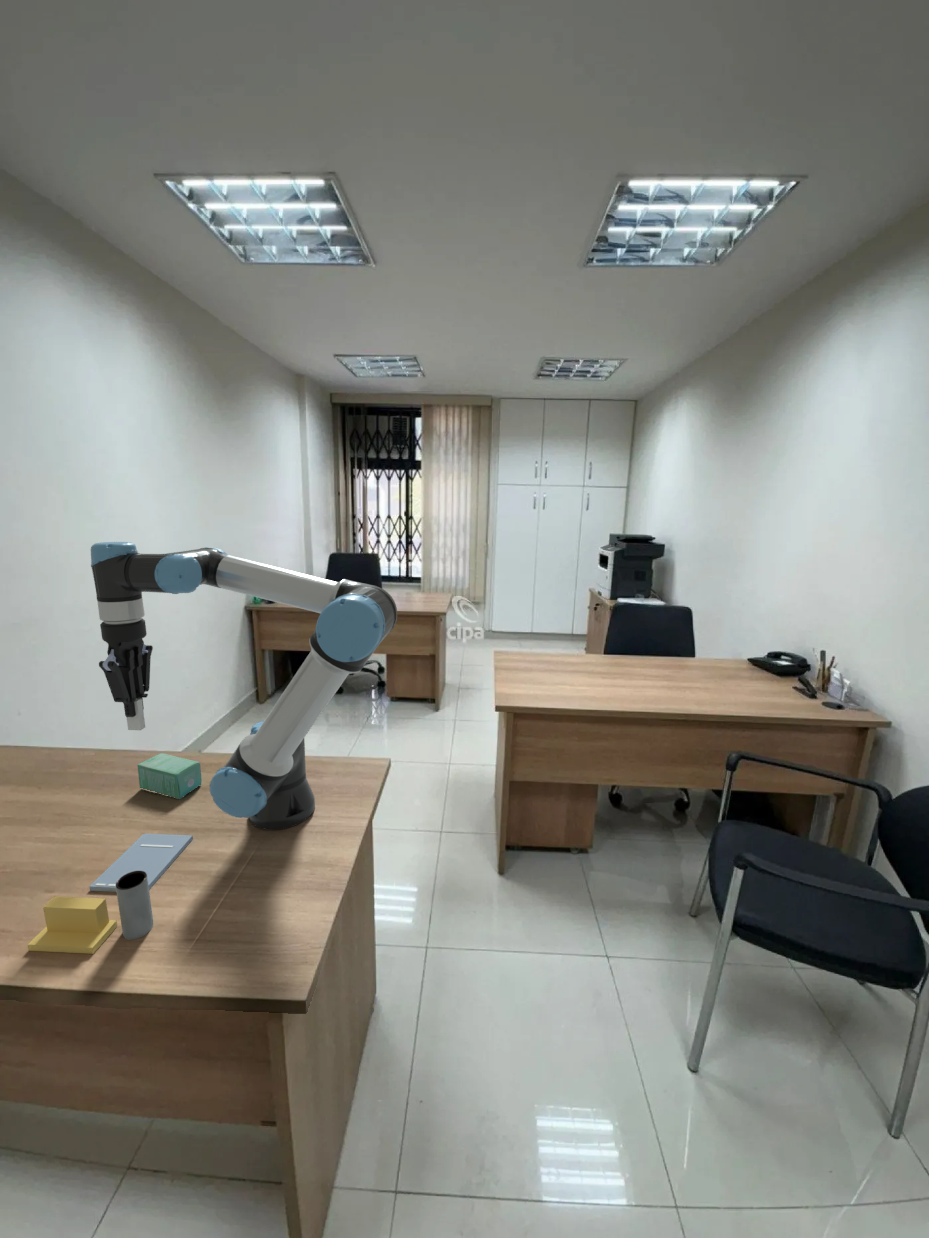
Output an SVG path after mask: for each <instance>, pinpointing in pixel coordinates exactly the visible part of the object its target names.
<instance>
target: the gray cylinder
mask: <svg viewBox="0 0 929 1238" xmlns="http://www.w3.org/2000/svg"><path fill="white" fill-rule="evenodd" d="M115 893H116V897H117V899H116V900H117V906H118V911H119V916H120V917H119V918H120V924H121V930H122V931H121V932H122V935H123V938H124V939H126V940H129V941H131V940H137V939H141V938H142V937H144V936H146V935H147V934H148V933H149V932H150V931H151V930H152V929H153V927H154V915H153V909H152V901H151V896H150V895H151V894H150V889H149V886H148V878H147V874H146V872H144V871H133V872H130V873H127V874H125V875H124V876H122V877H121V878H120V879H119V880H118V881H117V882H116V892H115Z"/></svg>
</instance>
